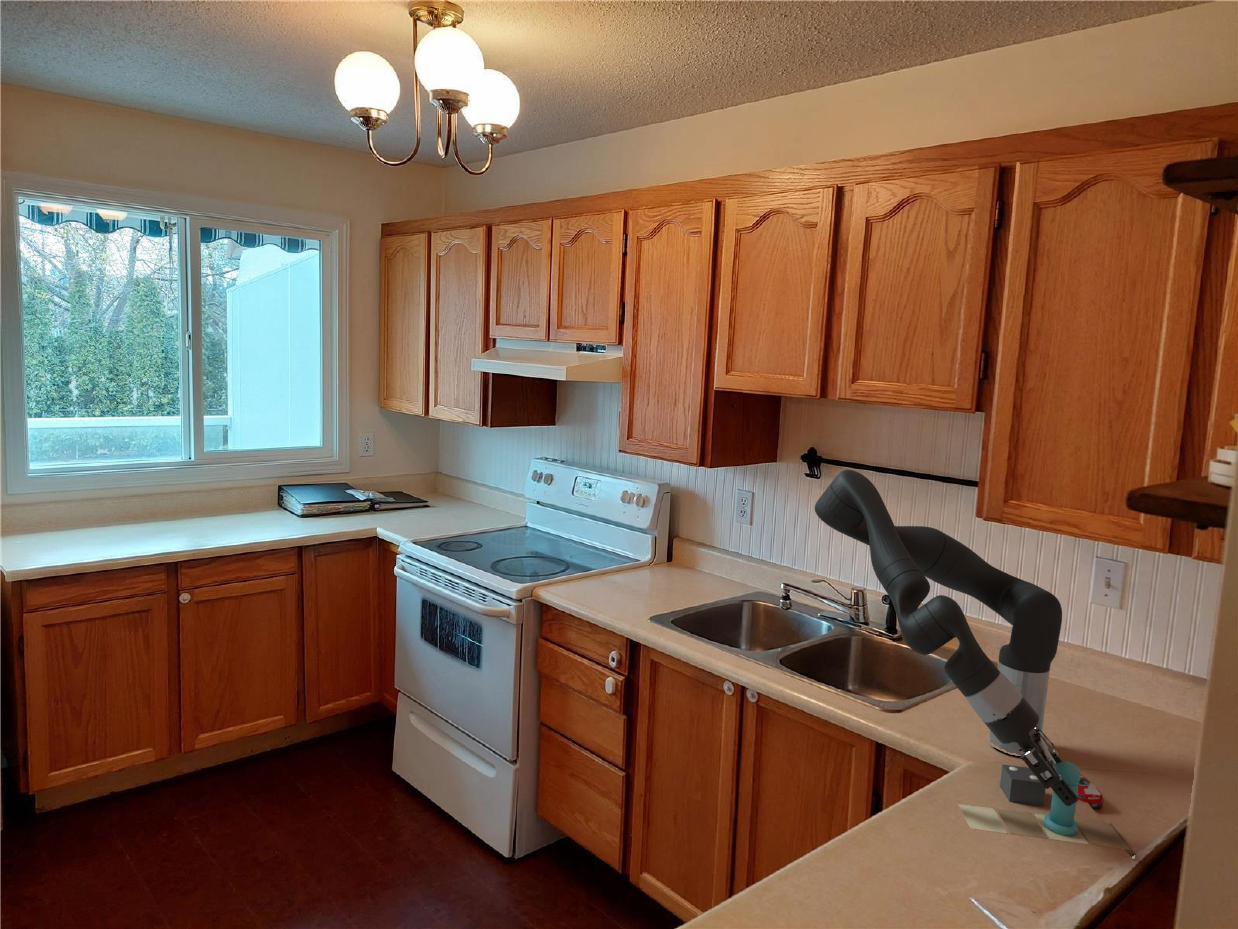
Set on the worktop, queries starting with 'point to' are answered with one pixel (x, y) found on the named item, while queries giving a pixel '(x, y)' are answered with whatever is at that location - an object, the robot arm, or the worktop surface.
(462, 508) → the worktop surface
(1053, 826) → the pawn
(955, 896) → the worktop surface
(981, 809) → the track board
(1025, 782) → the die
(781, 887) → the worktop surface
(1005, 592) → the robot arm
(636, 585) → the worktop surface
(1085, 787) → the race car
